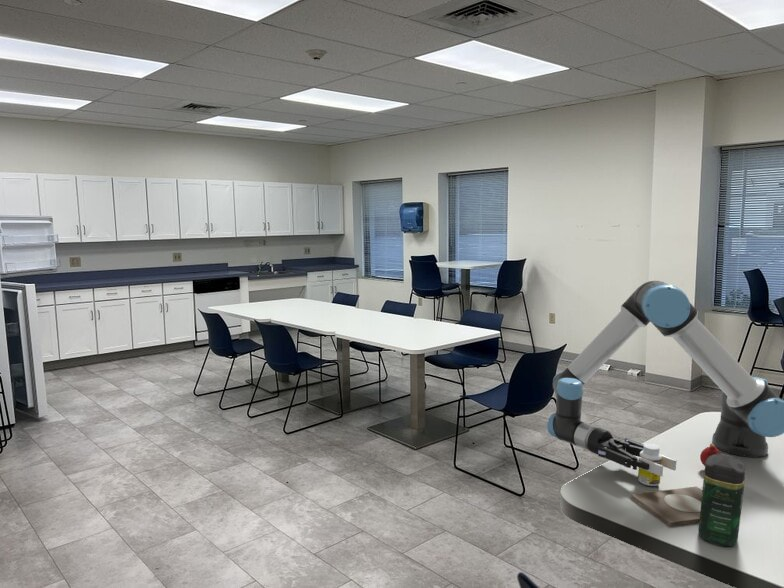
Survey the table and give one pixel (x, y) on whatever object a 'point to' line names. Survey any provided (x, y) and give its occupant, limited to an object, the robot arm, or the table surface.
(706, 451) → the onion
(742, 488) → the coffee jar
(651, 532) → the table surface
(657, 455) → the supplement bottle
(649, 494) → the brown flat board
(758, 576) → the table surface
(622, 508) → the table surface
